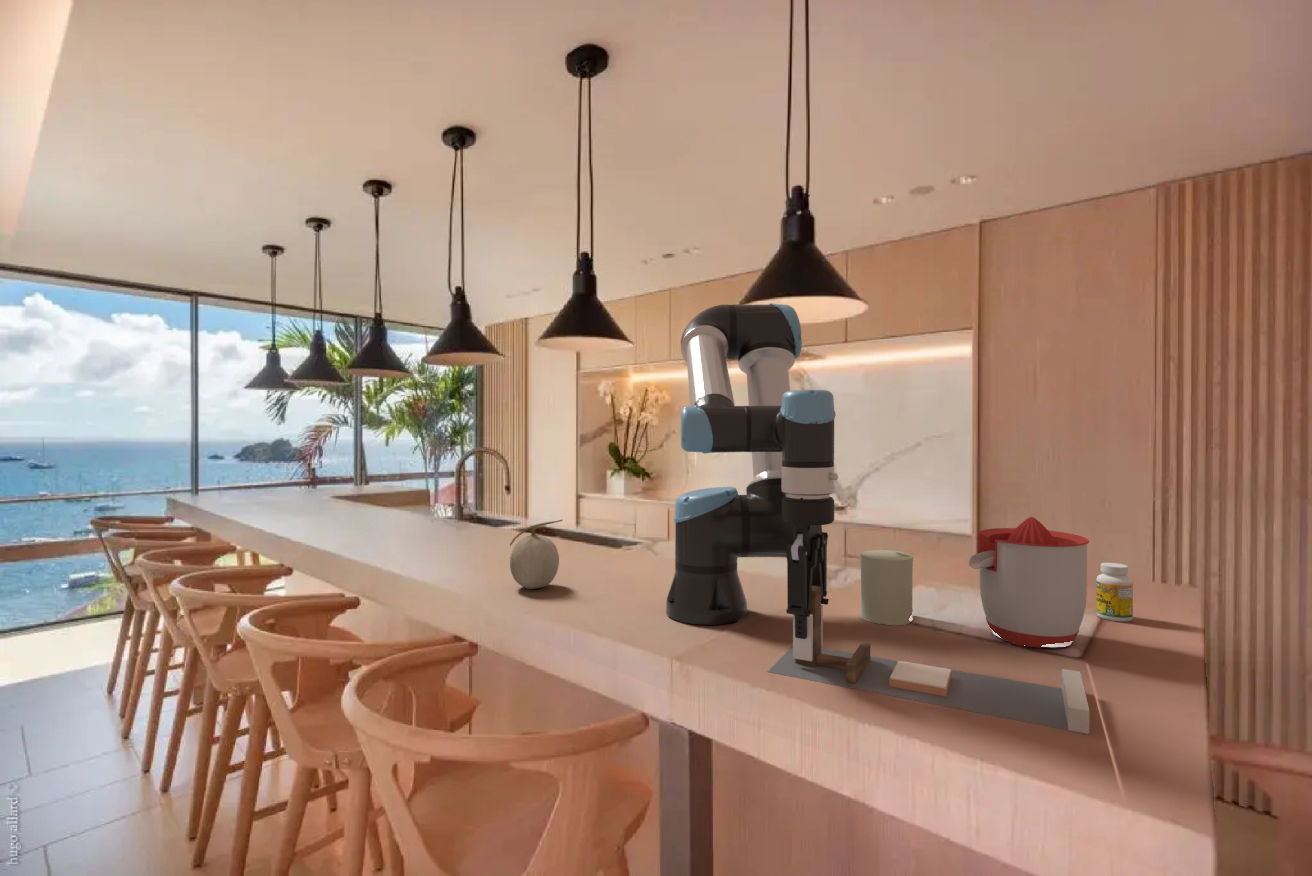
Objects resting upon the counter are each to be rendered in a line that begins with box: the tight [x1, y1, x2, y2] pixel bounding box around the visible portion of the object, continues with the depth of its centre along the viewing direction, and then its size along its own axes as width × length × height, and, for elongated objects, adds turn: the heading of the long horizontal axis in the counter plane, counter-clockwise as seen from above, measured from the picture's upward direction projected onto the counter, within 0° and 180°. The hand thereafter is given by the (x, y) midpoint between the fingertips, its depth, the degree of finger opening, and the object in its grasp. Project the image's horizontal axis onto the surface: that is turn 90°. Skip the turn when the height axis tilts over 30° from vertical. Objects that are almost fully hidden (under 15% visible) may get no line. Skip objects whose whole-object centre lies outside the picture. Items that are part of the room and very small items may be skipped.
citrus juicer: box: [968, 516, 1090, 649], centre depth 105 cm, size 16×17×20 cm
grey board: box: [767, 645, 1090, 735], centre depth 87 cm, size 38×13×3 cm, turn 60°
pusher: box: [795, 585, 871, 684], centre depth 93 cm, size 9×10×11 cm
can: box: [859, 549, 914, 626], centre depth 117 cm, size 9×9×12 cm
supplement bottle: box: [1095, 562, 1134, 623], centre depth 116 cm, size 5×5×10 cm
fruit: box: [509, 519, 563, 590], centre depth 140 cm, size 10×12×15 cm
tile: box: [889, 660, 953, 697], centre depth 87 cm, size 7×7×1 cm
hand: (808, 652), depth 95 cm, fingers open, 4 cm apart
